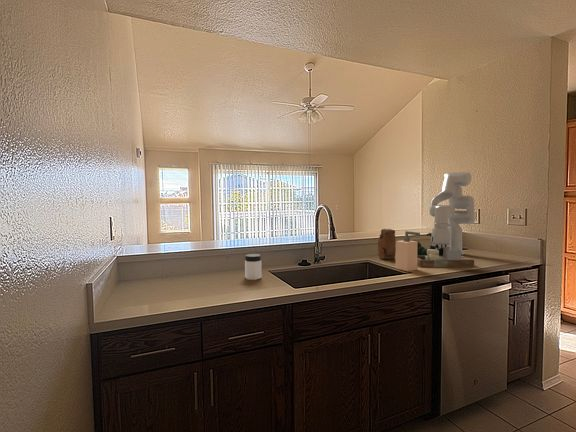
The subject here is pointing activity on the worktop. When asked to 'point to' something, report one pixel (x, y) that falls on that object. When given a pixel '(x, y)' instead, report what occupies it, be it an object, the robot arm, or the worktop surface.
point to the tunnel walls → (451, 253)
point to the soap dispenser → (406, 253)
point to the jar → (253, 267)
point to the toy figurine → (421, 250)
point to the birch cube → (433, 253)
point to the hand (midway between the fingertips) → (440, 255)
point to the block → (387, 244)
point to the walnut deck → (444, 262)
